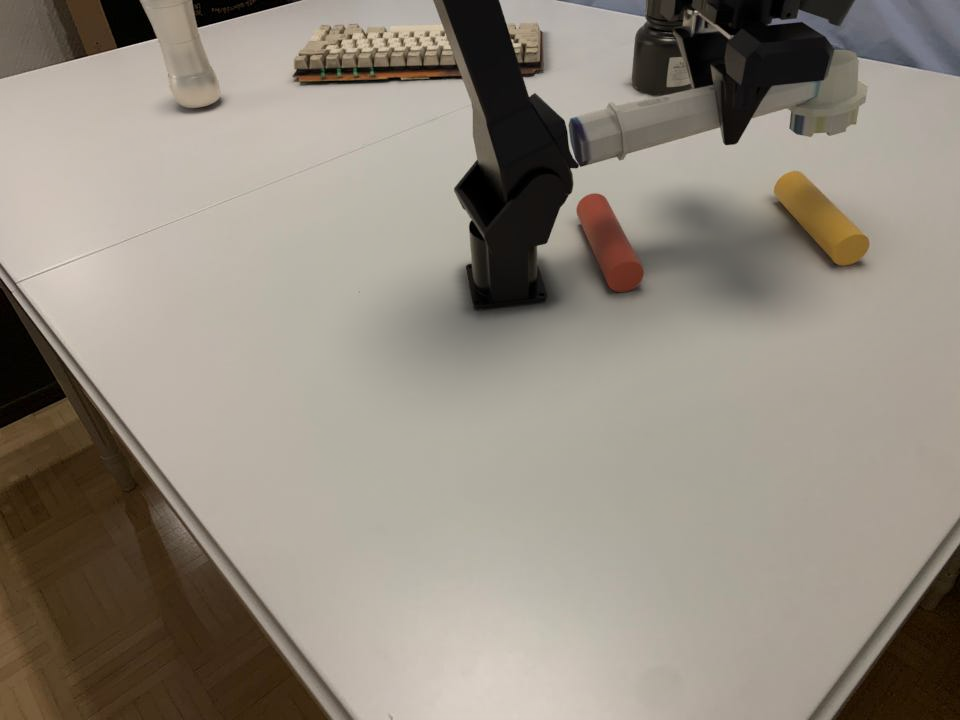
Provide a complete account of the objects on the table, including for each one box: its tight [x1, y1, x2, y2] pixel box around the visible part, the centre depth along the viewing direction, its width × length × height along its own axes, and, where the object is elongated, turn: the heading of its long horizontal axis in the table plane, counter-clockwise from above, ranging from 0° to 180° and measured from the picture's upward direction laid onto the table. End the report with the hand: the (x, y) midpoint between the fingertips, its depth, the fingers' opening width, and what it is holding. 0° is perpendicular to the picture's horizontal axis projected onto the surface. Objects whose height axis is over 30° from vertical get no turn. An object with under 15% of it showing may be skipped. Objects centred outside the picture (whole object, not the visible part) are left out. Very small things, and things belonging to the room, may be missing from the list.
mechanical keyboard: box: [292, 22, 544, 83], centre depth 108 cm, size 38×19×3 cm, turn 87°
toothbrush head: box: [568, 49, 869, 168], centre depth 59 cm, size 5×7×25 cm
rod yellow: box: [773, 170, 870, 266], centre depth 66 cm, size 12×3×3 cm, turn 7°
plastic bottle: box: [139, 0, 221, 109], centre depth 94 cm, size 6×7×20 cm
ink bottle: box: [631, 0, 692, 95], centre depth 92 cm, size 10×9×12 cm
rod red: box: [575, 192, 645, 293], centre depth 65 cm, size 12×3×3 cm, turn 7°
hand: (718, 131), depth 60 cm, fingers closed on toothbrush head, 5 cm apart
